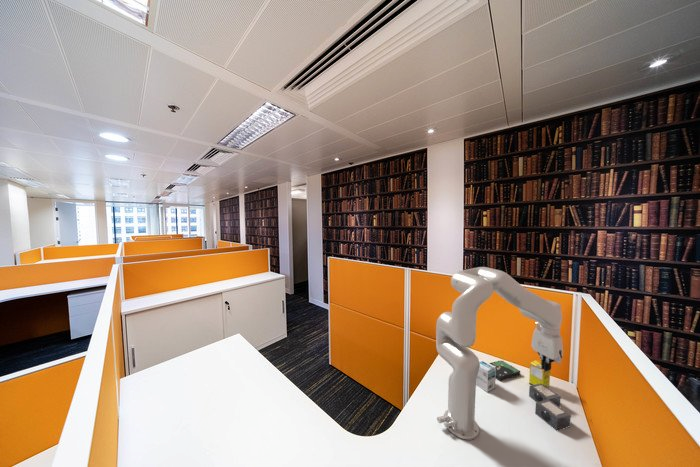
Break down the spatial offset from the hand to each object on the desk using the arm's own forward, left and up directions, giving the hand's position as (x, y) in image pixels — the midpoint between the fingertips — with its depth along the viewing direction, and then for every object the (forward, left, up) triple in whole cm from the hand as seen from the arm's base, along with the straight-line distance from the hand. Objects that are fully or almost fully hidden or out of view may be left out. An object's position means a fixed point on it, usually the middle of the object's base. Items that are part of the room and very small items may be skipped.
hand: (545, 369), depth 101 cm
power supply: (0, 0, -15) cm, 15 cm away
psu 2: (-7, -8, -15) cm, 18 cm away
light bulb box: (-19, +16, -15) cm, 29 cm away
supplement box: (+8, +8, -15) cm, 19 cm away
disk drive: (-1, +21, -16) cm, 26 cm away
